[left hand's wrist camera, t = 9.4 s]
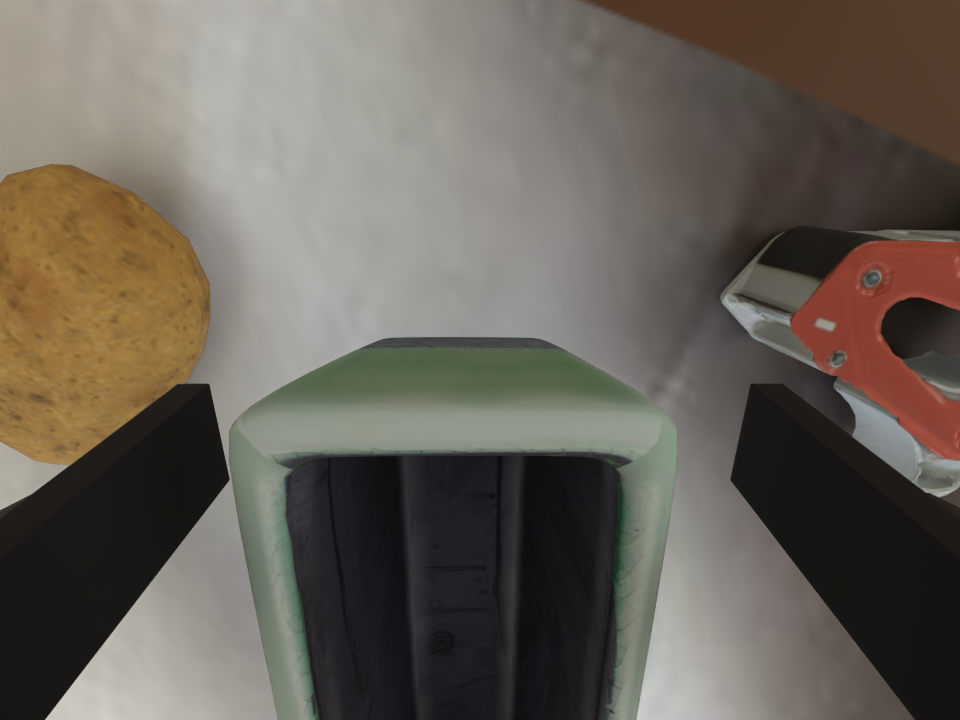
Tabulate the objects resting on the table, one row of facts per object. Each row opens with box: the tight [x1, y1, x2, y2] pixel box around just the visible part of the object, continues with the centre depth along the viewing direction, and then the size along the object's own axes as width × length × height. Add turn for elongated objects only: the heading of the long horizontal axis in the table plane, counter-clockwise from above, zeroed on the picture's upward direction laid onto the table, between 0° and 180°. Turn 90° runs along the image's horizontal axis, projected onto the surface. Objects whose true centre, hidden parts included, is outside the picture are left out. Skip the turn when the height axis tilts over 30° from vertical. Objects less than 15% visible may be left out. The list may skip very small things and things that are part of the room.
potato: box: [0, 164, 210, 465], centre depth 21 cm, size 9×13×7 cm
